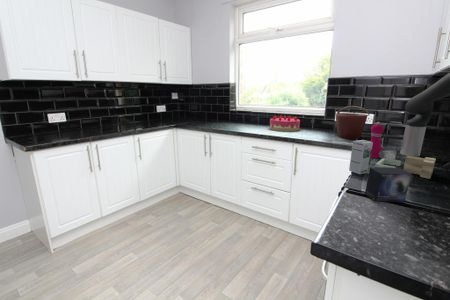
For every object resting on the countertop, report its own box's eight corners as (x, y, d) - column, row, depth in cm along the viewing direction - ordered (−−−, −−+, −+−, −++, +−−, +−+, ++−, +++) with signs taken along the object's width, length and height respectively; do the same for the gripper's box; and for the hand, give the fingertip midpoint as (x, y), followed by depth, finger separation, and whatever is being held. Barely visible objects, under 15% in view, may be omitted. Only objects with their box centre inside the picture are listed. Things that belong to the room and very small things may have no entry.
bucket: (372, 139, 183) (377, 107, 177) (350, 141, 176) (355, 107, 170) (346, 134, 206) (350, 105, 199) (326, 135, 198) (330, 105, 192)
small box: (374, 202, 78) (380, 173, 76) (363, 194, 85) (368, 166, 82) (406, 203, 78) (412, 173, 76) (392, 194, 85) (398, 167, 82)
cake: (266, 127, 240) (266, 114, 237) (292, 127, 243) (293, 114, 240) (274, 131, 213) (275, 118, 210) (304, 131, 216) (305, 118, 213)
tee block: (405, 168, 114) (408, 154, 113) (432, 173, 107) (435, 158, 106) (401, 173, 107) (404, 158, 106) (430, 178, 101) (433, 163, 99)
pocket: (382, 162, 123) (383, 157, 122) (400, 165, 118) (401, 161, 117) (374, 169, 112) (375, 164, 112) (393, 173, 107) (394, 167, 107)
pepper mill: (362, 155, 136) (367, 121, 131) (370, 154, 139) (376, 120, 134) (374, 158, 130) (380, 122, 125) (382, 157, 132) (389, 122, 128)
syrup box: (359, 174, 104) (364, 143, 101) (348, 170, 110) (352, 140, 106) (368, 173, 107) (373, 142, 103) (356, 169, 112) (361, 139, 108)
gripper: (485, 135, 95) (438, 158, 106) (488, 139, 86) (436, 164, 97) (501, 150, 93) (451, 172, 104) (506, 156, 83) (450, 179, 95)
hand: (444, 168), depth 100 cm, fingers closed
